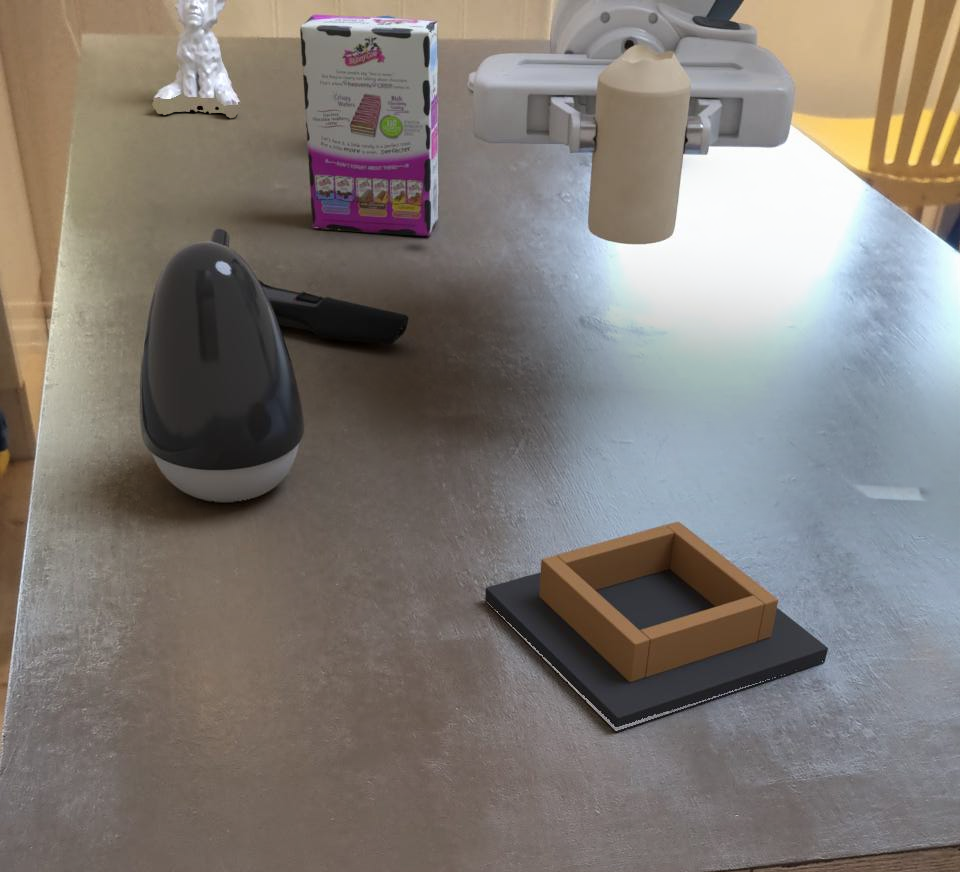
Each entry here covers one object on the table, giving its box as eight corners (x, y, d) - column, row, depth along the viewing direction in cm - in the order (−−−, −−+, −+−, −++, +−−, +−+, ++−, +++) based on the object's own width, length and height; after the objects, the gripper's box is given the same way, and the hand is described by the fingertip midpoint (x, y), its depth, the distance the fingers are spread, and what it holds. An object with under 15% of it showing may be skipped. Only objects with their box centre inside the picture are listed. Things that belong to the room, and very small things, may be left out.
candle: (576, 217, 88) (588, 40, 81) (658, 211, 89) (676, 37, 82) (601, 248, 84) (616, 66, 77) (686, 242, 85) (708, 62, 78)
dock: (680, 546, 85) (687, 495, 83) (825, 662, 76) (838, 609, 74) (484, 601, 80) (486, 549, 78) (615, 733, 71) (622, 678, 69)
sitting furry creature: (151, 116, 149) (135, -12, 141) (167, 94, 155) (153, -29, 147) (238, 120, 149) (227, -8, 141) (251, 98, 155) (241, -26, 147)
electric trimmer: (395, 364, 104) (395, 322, 102) (220, 323, 109) (216, 283, 106) (416, 346, 107) (417, 305, 105) (244, 307, 111) (242, 267, 109)
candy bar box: (439, 220, 127) (440, 18, 116) (430, 238, 124) (431, 32, 113) (322, 211, 128) (311, 10, 117) (309, 229, 125) (298, 23, 114)
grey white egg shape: (317, 449, 93) (303, 216, 83) (296, 526, 86) (278, 279, 75) (168, 443, 94) (136, 209, 83) (134, 519, 86) (94, 272, 76)
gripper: (467, 19, 90) (468, 78, 80) (778, 24, 90) (818, 84, 80) (466, 124, 94) (467, 192, 84) (763, 129, 94) (799, 198, 84)
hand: (641, 140), depth 82 cm, fingers closed on candle, 5 cm apart
